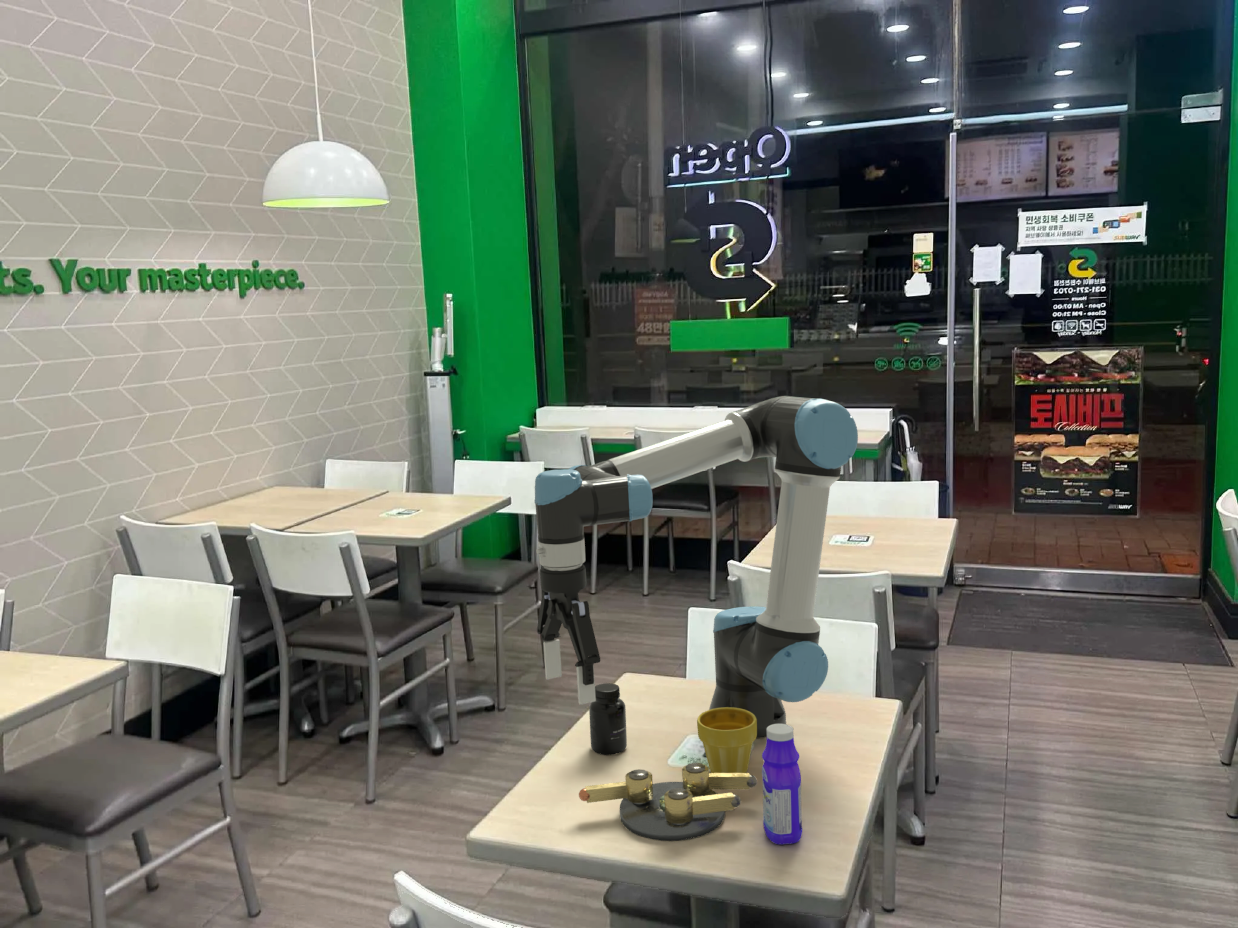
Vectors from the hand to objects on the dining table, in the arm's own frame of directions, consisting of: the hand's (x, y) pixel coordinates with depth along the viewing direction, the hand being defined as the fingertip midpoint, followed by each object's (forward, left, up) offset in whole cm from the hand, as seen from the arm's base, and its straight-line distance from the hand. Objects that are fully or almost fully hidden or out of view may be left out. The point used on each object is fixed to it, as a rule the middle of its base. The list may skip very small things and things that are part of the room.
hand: (569, 689), depth 171 cm
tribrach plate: (-15, +9, -19) cm, 26 cm away
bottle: (-30, +20, -20) cm, 41 cm away
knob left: (-23, +8, -17) cm, 30 cm away
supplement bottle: (-9, -19, -20) cm, 28 cm away
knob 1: (-6, +7, -17) cm, 19 cm away
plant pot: (-28, -4, -20) cm, 34 cm away
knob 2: (-18, +15, -17) cm, 29 cm away
